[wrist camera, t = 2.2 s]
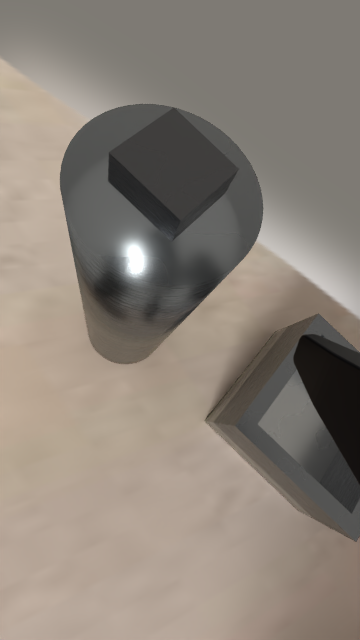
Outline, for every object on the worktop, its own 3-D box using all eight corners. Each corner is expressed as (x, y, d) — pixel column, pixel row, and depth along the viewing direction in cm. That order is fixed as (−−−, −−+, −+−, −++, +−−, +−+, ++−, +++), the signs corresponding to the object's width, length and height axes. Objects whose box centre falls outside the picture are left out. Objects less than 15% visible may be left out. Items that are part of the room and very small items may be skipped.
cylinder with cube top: (126, 379, 18) (186, 318, 5) (71, 327, 18) (-4, 137, 5) (176, 327, 20) (318, 179, 7) (125, 278, 20) (169, 38, 7)
